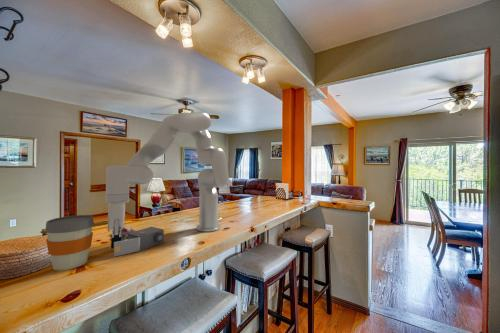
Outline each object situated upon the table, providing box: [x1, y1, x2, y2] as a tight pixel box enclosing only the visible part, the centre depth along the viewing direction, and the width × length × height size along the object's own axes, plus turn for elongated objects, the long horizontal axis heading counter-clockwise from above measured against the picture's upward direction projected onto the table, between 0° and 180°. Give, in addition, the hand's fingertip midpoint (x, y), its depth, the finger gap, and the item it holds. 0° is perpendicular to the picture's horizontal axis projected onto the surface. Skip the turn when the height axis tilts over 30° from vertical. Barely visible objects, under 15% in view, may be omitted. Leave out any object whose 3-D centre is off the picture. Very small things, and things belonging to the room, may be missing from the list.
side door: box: [113, 237, 141, 257], centre depth 81 cm, size 1×9×5 cm, turn 130°
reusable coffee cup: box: [44, 214, 95, 271], centre depth 73 cm, size 13×13×15 cm
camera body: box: [127, 226, 165, 252], centre depth 91 cm, size 11×10×6 cm
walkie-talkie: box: [121, 225, 136, 241], centre depth 99 cm, size 9×4×20 cm
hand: (116, 247), depth 81 cm, fingers closed
